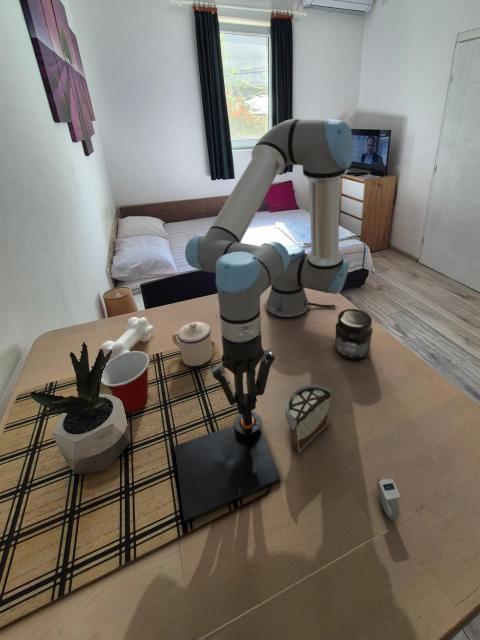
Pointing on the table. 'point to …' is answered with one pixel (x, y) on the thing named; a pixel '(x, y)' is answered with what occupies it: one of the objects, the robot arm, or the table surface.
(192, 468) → the scale
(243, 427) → the tare button
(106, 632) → the table surface
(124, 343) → the bone shaped toy
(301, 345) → the table surface
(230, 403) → the robot arm
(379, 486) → the wristwatch
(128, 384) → the plastic cup
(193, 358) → the teacup with lid
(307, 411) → the slice of cake
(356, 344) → the supplement container
